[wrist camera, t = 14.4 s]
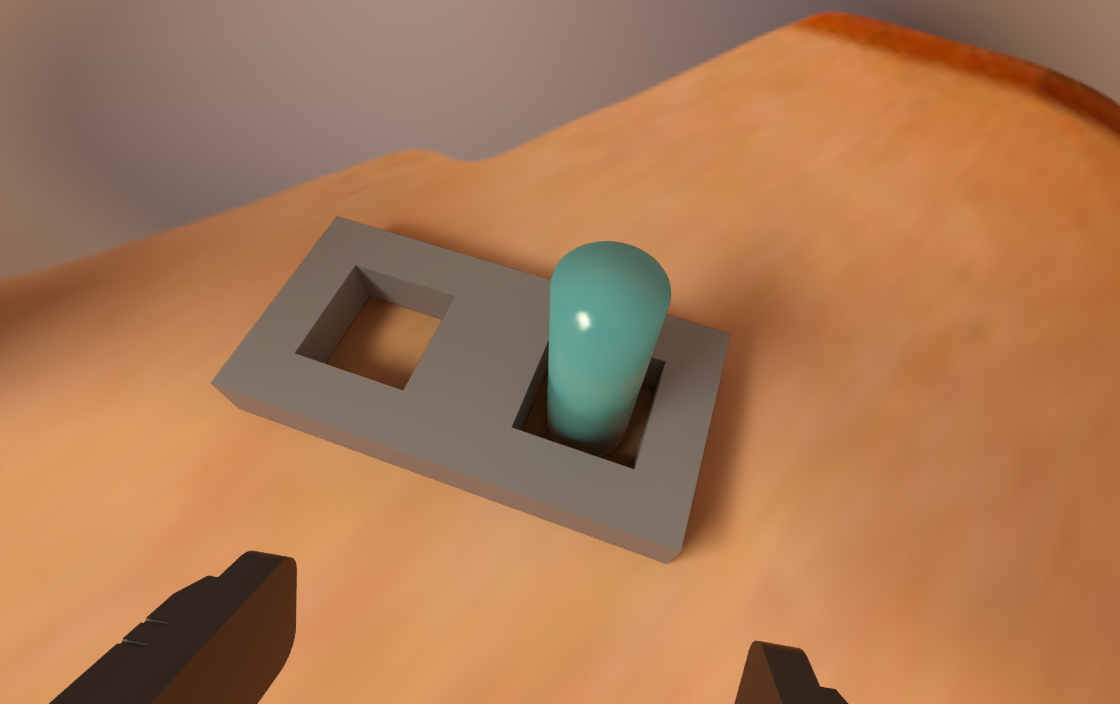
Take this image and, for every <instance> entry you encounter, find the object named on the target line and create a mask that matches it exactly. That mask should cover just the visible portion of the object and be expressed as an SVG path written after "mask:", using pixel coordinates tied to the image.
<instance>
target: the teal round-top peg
mask: <svg viewBox="0 0 1120 704" xmlns="http://www.w3.org/2000/svg"><path fill="white" fill-rule="evenodd" d="M670 300H671V286H670V282H669V279H668V277H667V274H666V273H665V271H664V269H663V268H662V267H661V265H660V264H659V263H658V262H657V261H656V260H655V259H654V258H653V257H652V256H650V255H649V254H648V253H646V252H644V251H643V250H641V249H639V248H636V247H634V246H631V245H628V244H625V243H620V242H613V241H601V242H594V243H589V244H585V245H582V246H580V247H578V248H576V249H574V250H572V251H570V252H569V253H568V254H566V255H565V256H564V257H563V258H562V259H561V260H560V261H559V263H558V264H557V266H556V267H555V269H554V271H553V274H552V277H551V283H550V321H549V360H548V399H547V426H548V430H549V433H550V435H551V437H552V439H553V440H554V442H555V443H558V444H561V445H564V446H567V447H570V448H573V449H576V450H579V451H582V452H585V453H588V454H591V455H594V456H596V457H600V456H603V455H606V454H607V453H609V452H611V451H612V450H614V449H615V448H616V447H617V446H618V445H619V444H620V442H621V441H622V439H623V437H624V435H625V432H626V429H627V427H628V424H629V421H630V418H631V415H632V412H633V409H634V406H635V403H636V400H637V398H638V395H639V392H640V389H641V386H642V383H643V380H644V377H645V374H646V371H647V368H648V366H649V363H650V360H651V357H652V354H653V351H654V348H655V345H656V342H657V339H658V337H659V334H660V331H661V328H662V325H663V322H664V319H665V316H666V313H667V310H668V307H669V305H670Z"/></svg>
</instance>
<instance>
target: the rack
mask: <svg viewBox="0 0 1120 704" xmlns="http://www.w3.org/2000/svg"><path fill="white" fill-rule="evenodd" d="M550 283H551V280H549V279H545V278H542V277H539V276H535V275H532V274H529V273H525V272H522V271H519V270H515V269H512V268H509V267H505V266H502V265H499V264H495V263H492V262H489V261H485V260H482V259H478V258H475V257H472V256H468V255H465V254H462V253H458V252H455V251H452V250H448V249H445V248H442V247H438V246H435V245H432V244H428V243H425V242H421V241H418V240H415V239H411V238H408V237H405V236H401V235H398V234H395V233H391V232H388V231H385V230H381V229H378V228H375V227H371V226H368V225H365V224H361V223H358V222H354V221H351V220H348V219H344V218H341V217H338V216H337V217H336V218H335V220H334V221H333V222H332V224H331V225H330V226H329V227H328V229H327V230H326V231H325V233H324V234H323V235H322V237H321V238H320V239H319V241H318V242H317V243H316V245H315V246H314V247H313V249H312V250H311V251H310V253H309V254H308V255H307V257H306V258H305V259H304V260H303V262H302V263H301V264H300V266H299V267H298V268H297V270H296V271H295V272H294V274H293V275H292V276H291V278H290V279H289V280H288V282H287V283H286V284H285V286H284V287H283V288H282V289H281V291H280V292H279V293H278V295H277V296H276V297H275V299H274V300H273V301H272V303H271V304H270V305H269V307H268V308H267V309H266V311H265V312H264V313H263V315H262V316H261V317H260V319H259V320H258V321H257V322H256V324H255V325H254V326H253V328H252V329H251V330H250V332H249V333H248V334H247V336H246V337H245V338H244V340H243V341H242V342H241V344H240V345H239V346H238V348H237V349H236V350H235V352H234V353H233V354H232V355H231V357H230V358H229V359H228V361H227V362H226V363H225V365H224V366H223V367H222V369H221V370H220V371H219V373H218V374H217V375H216V377H215V378H214V379H213V381H212V382H211V384H212V385H213V386H214V387H215V388H217V389H218V390H219V391H220V392H221V393H222V394H223V395H224V396H225V397H227V398H228V399H229V400H230V401H231V402H232V403H233V404H234V405H235V406H237V407H238V408H239V409H242V410H245V411H247V412H250V413H253V414H256V415H258V416H261V417H264V418H267V419H269V420H272V421H275V422H278V423H280V424H283V425H286V426H289V427H291V428H294V429H297V430H300V431H302V432H305V433H308V434H311V435H313V436H316V437H319V438H322V439H324V440H327V441H330V442H333V443H335V444H338V445H341V446H344V447H346V448H349V449H352V450H355V451H357V452H360V453H363V454H366V455H368V456H371V457H374V458H377V459H379V460H382V461H385V462H388V463H390V464H393V465H396V466H399V467H401V468H404V469H407V470H410V471H412V472H415V473H418V474H421V475H423V476H426V477H429V478H432V479H434V480H437V481H440V482H443V483H445V484H448V485H451V486H454V487H456V488H459V489H462V490H465V491H467V492H470V493H473V494H476V495H478V496H481V497H484V498H487V499H489V500H492V501H495V502H498V503H500V504H503V505H506V506H509V507H511V508H514V509H517V510H520V511H522V512H525V513H528V514H531V515H533V516H536V517H539V518H542V519H544V520H547V521H550V522H553V523H555V524H558V525H561V526H564V527H566V528H569V529H572V530H575V531H577V532H580V533H583V534H586V535H588V536H591V537H594V538H597V539H599V540H602V541H605V542H608V543H610V544H613V545H616V546H619V547H621V548H624V549H627V550H630V551H632V552H635V553H638V554H641V555H643V556H646V557H649V558H652V559H654V560H657V561H660V562H663V563H665V564H668V563H669V562H670V561H671V560H673V559H674V558H675V557H676V556H677V555H678V554H679V553H680V552H681V549H682V545H683V541H684V536H685V532H686V527H687V523H688V519H689V514H690V510H691V505H692V501H693V497H694V492H695V488H696V484H697V479H698V475H699V470H700V466H701V462H702V457H703V453H704V448H705V444H706V440H707V435H708V431H709V427H710V422H711V418H712V413H713V409H714V405H715V400H716V396H717V391H718V387H719V383H720V378H721V374H722V369H723V365H724V361H725V356H726V352H727V348H728V343H729V339H730V333H726V332H723V331H720V330H716V329H713V328H710V327H706V326H703V325H700V324H696V323H693V322H690V321H686V320H683V319H680V318H676V317H673V316H669V315H666V316H665V319H664V322H663V325H662V328H661V331H660V334H659V337H658V339H657V342H656V345H655V348H654V351H653V354H652V357H651V360H650V363H649V366H648V368H647V371H646V374H645V377H644V380H643V383H644V384H647V385H650V386H653V387H656V388H655V391H654V395H653V398H652V401H651V405H650V408H649V412H648V415H647V418H646V422H645V425H644V429H643V432H642V436H641V439H640V442H639V446H638V449H637V453H636V456H635V459H634V463H633V466H632V468H629V467H626V466H623V465H620V464H617V463H614V462H611V461H608V460H605V459H602V458H599V457H596V456H594V455H591V454H588V453H585V452H582V451H579V450H576V449H573V448H570V447H567V446H564V445H561V444H558V443H555V442H553V441H550V440H547V439H544V438H541V437H538V436H535V435H532V434H529V433H526V432H523V431H522V429H523V426H524V424H525V421H526V419H527V416H528V414H529V412H530V409H531V407H532V404H533V402H534V400H535V397H536V395H537V392H538V390H539V387H540V385H541V383H542V380H543V378H544V375H545V373H546V370H547V368H548V360H549V321H550ZM369 296H370V297H374V298H377V299H380V300H383V301H386V302H389V303H392V304H396V305H399V306H402V307H405V308H408V309H411V310H414V311H417V312H421V313H424V314H427V315H430V316H433V317H436V318H439V319H442V321H441V323H440V325H439V327H438V328H437V330H436V332H435V334H434V336H433V337H432V339H431V341H430V343H429V345H428V347H427V348H426V350H425V352H424V354H423V356H422V357H421V359H420V361H419V363H418V365H417V366H416V368H415V370H414V372H413V374H412V375H411V377H410V379H409V381H408V383H407V384H406V386H405V388H404V390H400V389H397V388H395V387H392V386H389V385H386V384H383V383H380V382H377V381H374V380H371V379H368V378H365V377H362V376H359V375H357V374H354V373H351V372H348V371H345V370H342V369H339V368H336V367H333V366H330V365H327V364H326V362H327V360H328V359H329V357H330V356H331V354H332V353H333V351H334V350H335V348H336V347H337V345H338V344H339V342H340V341H341V339H342V337H343V336H344V334H345V333H346V331H347V330H348V328H349V327H350V325H351V324H352V322H353V321H354V319H355V318H356V316H357V314H358V313H359V311H360V310H361V308H362V307H363V305H364V304H365V302H366V301H367V299H368V298H369Z"/></svg>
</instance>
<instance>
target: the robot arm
mask: <svg viewBox="0 0 1120 704" xmlns="http://www.w3.org/2000/svg"><path fill="white" fill-rule="evenodd" d="M296 589H297V566H296V562H295V560H294V559H293V558H291V557H286V556H280V555H274V554H269V553H263V552H257V551H247V552H246V553H244V554H243V555H242V556H240V557H239V558H238V559H237V560H236V561H235V562H234V563H233V564H232V565H231V566H230V567H229V568H228V569H227V570H225V571H224V572H223V573H222V574H221V575H220V576H219V577H213V576H206V577H204V578H203V579H201V580H199V581H197V582H195V583H193V584H191V585H189V586H187V587H185V588H183V589H182V590H180V591H178V592H176V593H174V594H173V595H172V596H170V597H169V598H168V599H167V600H166V601H165V602H164V603H162V604H161V605H160V606H159V607H158V608H157V609H156V610H155V611H153V612H152V613H151V614H150V615H149V616H148V617H147V618H146V621H145V622H144V623H140V624H139V625H138V626H136V627H135V628H134V629H133V630H132V631H131V632H130V633H128V634H127V635H126V636H125V637H124V638H123V641H122V643H121V644H116V645H115V646H114V647H113V648H111V649H110V650H109V651H108V652H107V653H106V654H105V655H104V656H102V657H101V658H100V659H99V660H98V661H97V662H96V663H94V664H93V665H92V666H91V667H90V668H89V669H88V670H87V671H85V672H84V673H83V674H82V675H81V676H80V677H79V678H77V679H76V680H75V681H74V682H73V683H72V684H71V685H70V686H68V687H67V688H66V689H65V690H64V691H63V692H62V693H60V694H59V695H58V696H57V697H56V698H55V699H54V700H53V701H51V702H50V703H49V704H258V702H259V701H260V699H261V698H262V697H263V695H264V694H265V692H266V691H267V690H268V688H269V687H270V685H271V684H272V683H273V681H274V680H275V678H276V677H277V676H278V674H279V673H280V671H281V670H282V668H283V666H284V665H285V663H286V661H287V659H288V657H289V654H290V652H291V649H292V646H293V642H294V638H295V632H296ZM735 704H848V703H847V702H846V700H845V699H844V698H843V697H842V696H841V695H840V694H839V693H838V691H837V690H836V689H831V688H825V687H820V685H819V683H818V680H817V678H816V676H815V674H814V671H813V669H812V667H811V665H810V662H809V660H808V658H807V656H806V654H805V653H804V651H803V650H802V649H800V648H796V647H790V646H784V645H778V644H773V643H767V642H761V641H754V642H753V643H752V644H751V646H750V649H749V652H748V656H747V660H746V663H745V667H744V671H743V674H742V678H741V682H740V686H739V689H738V693H737V697H736V700H735Z"/></svg>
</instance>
